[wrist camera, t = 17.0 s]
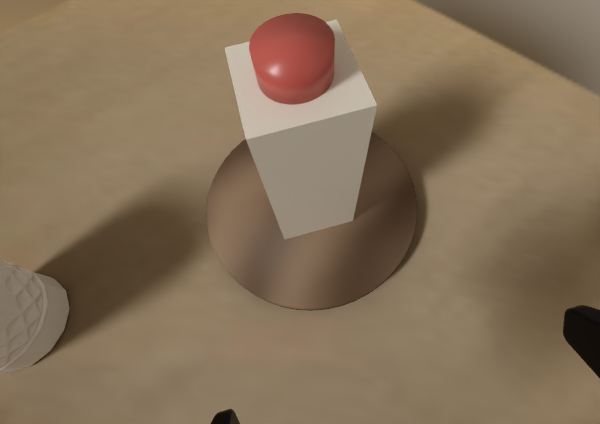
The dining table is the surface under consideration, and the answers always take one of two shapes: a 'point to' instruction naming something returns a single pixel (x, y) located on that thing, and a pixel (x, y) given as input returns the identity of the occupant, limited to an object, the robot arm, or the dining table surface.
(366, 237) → the walnut serving board
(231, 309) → the dining table surface
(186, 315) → the dining table surface
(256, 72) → the square squeeze bottle
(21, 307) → the white cup
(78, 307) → the dining table surface
